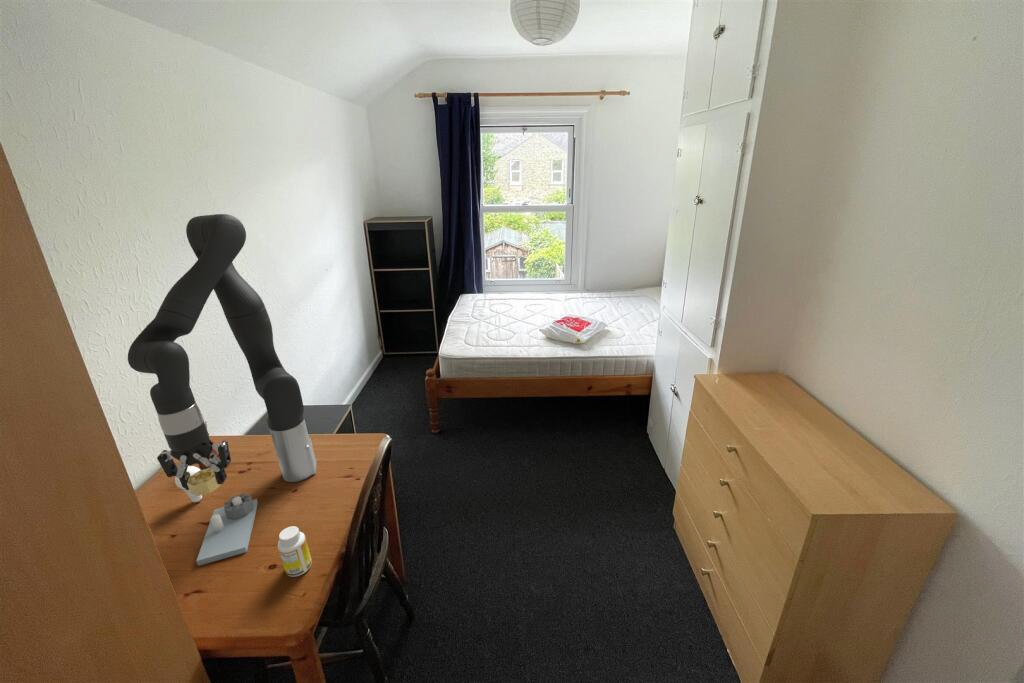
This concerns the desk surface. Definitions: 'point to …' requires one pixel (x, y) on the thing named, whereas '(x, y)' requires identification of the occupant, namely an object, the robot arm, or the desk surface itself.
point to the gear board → (229, 530)
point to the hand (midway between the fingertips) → (206, 484)
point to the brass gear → (203, 482)
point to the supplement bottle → (294, 551)
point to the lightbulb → (193, 497)
